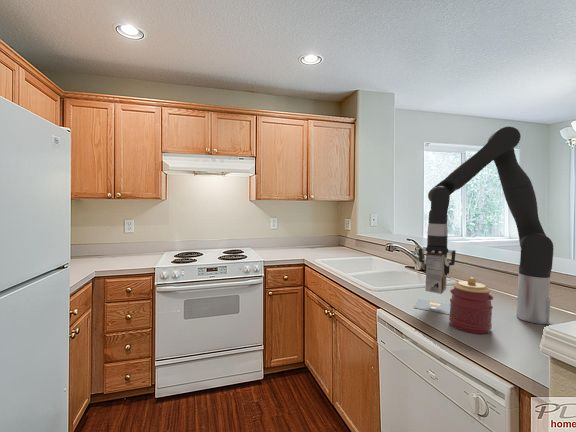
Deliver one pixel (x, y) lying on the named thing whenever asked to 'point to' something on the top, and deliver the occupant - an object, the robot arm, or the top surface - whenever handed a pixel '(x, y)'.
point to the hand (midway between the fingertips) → (436, 273)
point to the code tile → (433, 306)
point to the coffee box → (435, 272)
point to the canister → (471, 307)
